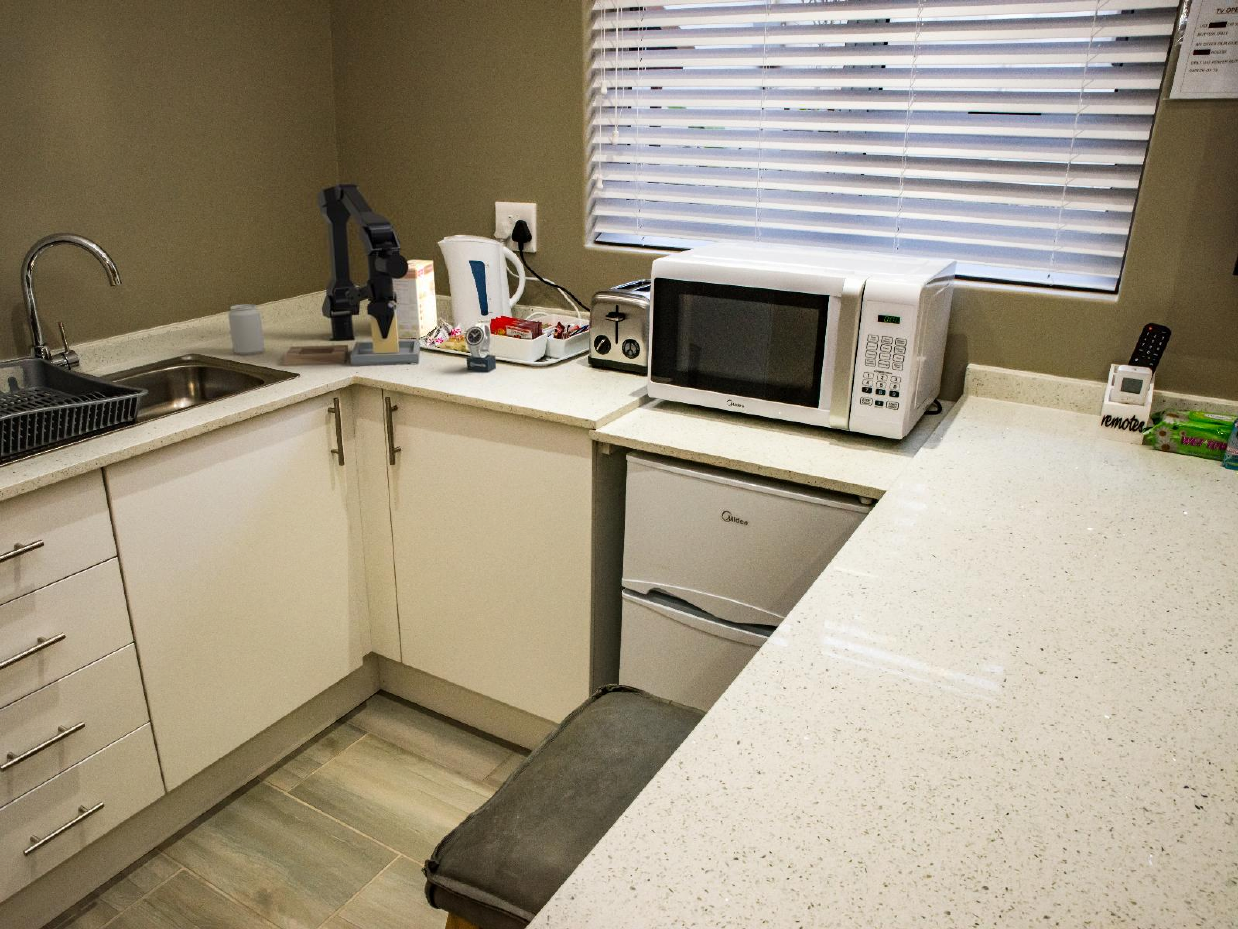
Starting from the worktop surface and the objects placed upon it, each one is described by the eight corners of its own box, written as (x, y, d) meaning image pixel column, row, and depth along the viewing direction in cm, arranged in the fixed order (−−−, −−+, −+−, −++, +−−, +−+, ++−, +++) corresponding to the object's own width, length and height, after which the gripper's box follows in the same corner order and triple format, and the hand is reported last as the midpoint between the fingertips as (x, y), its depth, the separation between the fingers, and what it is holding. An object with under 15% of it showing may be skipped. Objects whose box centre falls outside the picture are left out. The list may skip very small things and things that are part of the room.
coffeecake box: (414, 327, 268) (410, 259, 262) (438, 328, 267) (434, 259, 261) (396, 338, 254) (390, 266, 248) (421, 339, 253) (416, 267, 247)
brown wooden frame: (291, 354, 236) (290, 346, 235) (348, 352, 238) (347, 344, 238) (284, 365, 225) (283, 357, 224) (344, 363, 227) (343, 355, 227)
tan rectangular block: (374, 349, 235) (371, 310, 231) (398, 348, 236) (395, 309, 232) (373, 353, 231) (370, 313, 227) (398, 352, 232) (395, 312, 228)
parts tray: (356, 351, 240) (356, 341, 239) (420, 349, 242) (419, 339, 242) (351, 366, 225) (350, 356, 224) (418, 363, 228) (417, 353, 227)
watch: (463, 372, 220) (461, 326, 216) (478, 364, 227) (476, 320, 223) (485, 374, 218) (483, 328, 215) (499, 366, 226) (497, 321, 222)
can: (232, 350, 240) (226, 304, 236) (263, 348, 243) (257, 302, 239) (234, 356, 233) (228, 309, 229) (266, 354, 236) (260, 307, 232)
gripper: (349, 268, 234) (355, 330, 239) (342, 280, 217) (348, 346, 222) (394, 267, 236) (399, 328, 241) (391, 279, 218) (396, 344, 224)
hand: (385, 336), depth 232 cm, fingers open, 4 cm apart
